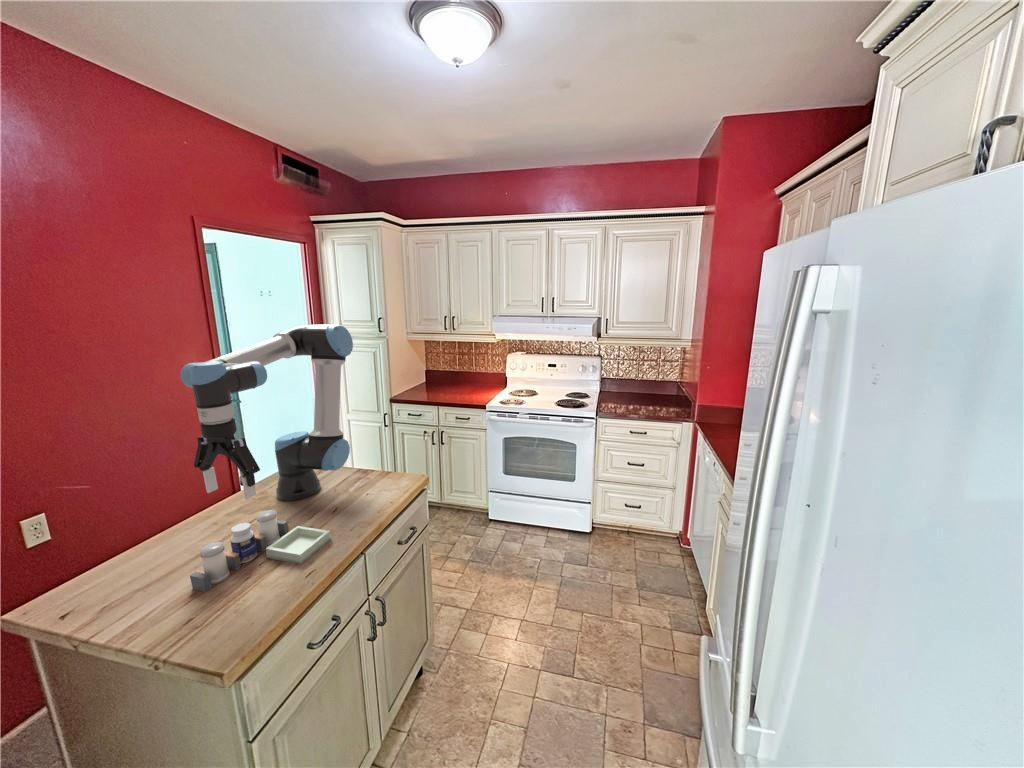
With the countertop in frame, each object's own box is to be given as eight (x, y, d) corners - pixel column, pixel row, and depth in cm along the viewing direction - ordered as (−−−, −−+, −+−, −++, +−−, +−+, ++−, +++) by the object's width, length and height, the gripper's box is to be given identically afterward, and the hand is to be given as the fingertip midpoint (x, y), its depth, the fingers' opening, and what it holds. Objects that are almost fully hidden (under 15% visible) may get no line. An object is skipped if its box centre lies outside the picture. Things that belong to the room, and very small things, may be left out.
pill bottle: (246, 565, 112) (240, 533, 109) (229, 563, 113) (223, 531, 111) (262, 552, 117) (257, 522, 115) (246, 550, 118) (240, 520, 116)
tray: (298, 534, 126) (297, 525, 125) (330, 539, 123) (329, 530, 122) (267, 557, 115) (265, 548, 114) (301, 564, 112) (300, 554, 111)
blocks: (277, 530, 128) (275, 518, 127) (289, 532, 127) (287, 520, 126) (192, 589, 103) (189, 574, 102) (205, 592, 102) (202, 577, 101)
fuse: (270, 534, 126) (266, 509, 124) (284, 537, 125) (280, 511, 123) (256, 544, 121) (251, 517, 119) (270, 547, 120) (265, 520, 118)
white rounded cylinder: (219, 569, 110) (213, 540, 108) (234, 572, 109) (228, 543, 107) (200, 582, 105) (194, 552, 103) (216, 585, 104) (209, 555, 102)
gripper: (167, 421, 105) (183, 494, 110) (241, 428, 98) (255, 506, 103) (196, 413, 112) (210, 482, 117) (267, 419, 105) (279, 492, 110)
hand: (231, 493), depth 110 cm, fingers open, 13 cm apart
